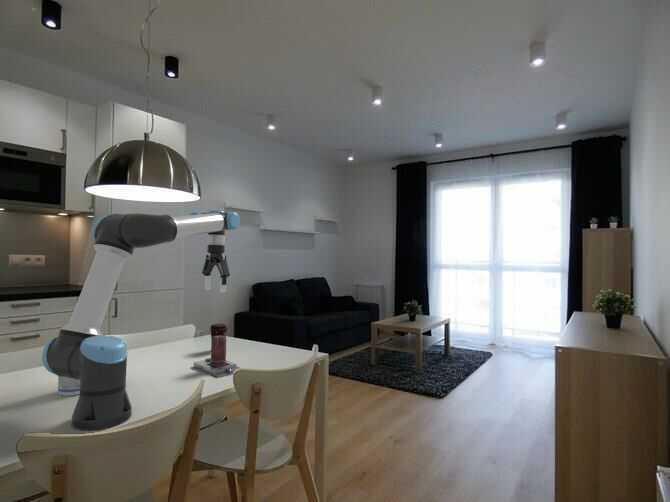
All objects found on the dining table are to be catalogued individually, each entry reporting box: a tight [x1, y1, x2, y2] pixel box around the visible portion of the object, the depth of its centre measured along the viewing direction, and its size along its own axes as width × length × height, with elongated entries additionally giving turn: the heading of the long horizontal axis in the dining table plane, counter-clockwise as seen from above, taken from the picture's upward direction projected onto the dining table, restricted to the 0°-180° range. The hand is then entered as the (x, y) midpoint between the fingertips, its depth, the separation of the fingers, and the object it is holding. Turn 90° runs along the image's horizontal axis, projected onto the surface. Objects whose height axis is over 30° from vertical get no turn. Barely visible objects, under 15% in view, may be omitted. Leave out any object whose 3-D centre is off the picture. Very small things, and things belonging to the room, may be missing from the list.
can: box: [210, 335, 227, 368], centre depth 166 cm, size 6×6×14 cm
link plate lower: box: [199, 365, 241, 379], centre depth 164 cm, size 12×14×2 cm
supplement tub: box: [57, 376, 80, 397], centre depth 136 cm, size 10×10×15 cm
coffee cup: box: [209, 323, 228, 341], centre depth 197 cm, size 9×8×13 cm
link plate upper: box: [193, 357, 237, 372], centre depth 168 cm, size 12×14×3 cm
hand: (215, 291), depth 179 cm, fingers open, 13 cm apart
